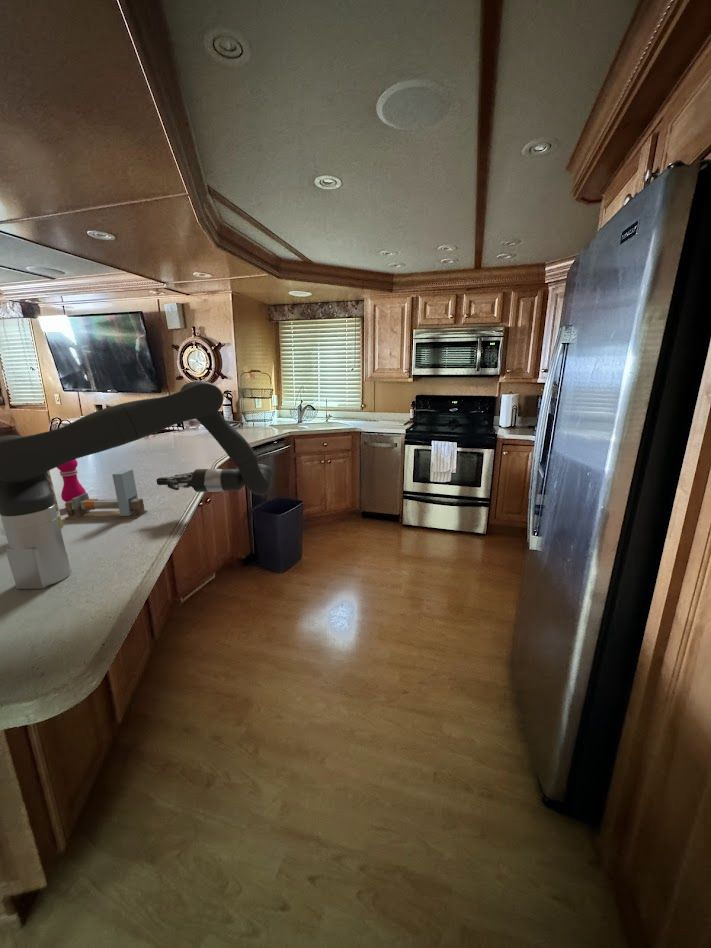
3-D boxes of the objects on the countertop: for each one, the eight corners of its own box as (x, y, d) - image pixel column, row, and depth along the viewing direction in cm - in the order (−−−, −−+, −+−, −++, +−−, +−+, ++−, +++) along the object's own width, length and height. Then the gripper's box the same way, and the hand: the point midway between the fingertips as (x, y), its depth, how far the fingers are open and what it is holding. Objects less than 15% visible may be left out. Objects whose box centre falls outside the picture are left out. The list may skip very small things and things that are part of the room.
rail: (137, 518, 123) (133, 497, 121) (65, 519, 123) (60, 499, 121) (147, 511, 128) (144, 492, 127) (78, 512, 129) (74, 493, 127)
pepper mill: (67, 505, 136) (54, 451, 131) (90, 502, 139) (79, 449, 134) (61, 511, 130) (48, 455, 125) (86, 508, 133) (74, 453, 128)
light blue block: (129, 515, 122) (121, 474, 119) (120, 515, 122) (112, 474, 119) (139, 509, 128) (132, 469, 125) (131, 509, 128) (123, 469, 125)
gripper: (216, 464, 128) (166, 465, 128) (200, 474, 115) (144, 475, 115) (219, 485, 130) (169, 486, 130) (203, 497, 117) (148, 498, 117)
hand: (157, 481), depth 122 cm, fingers closed
